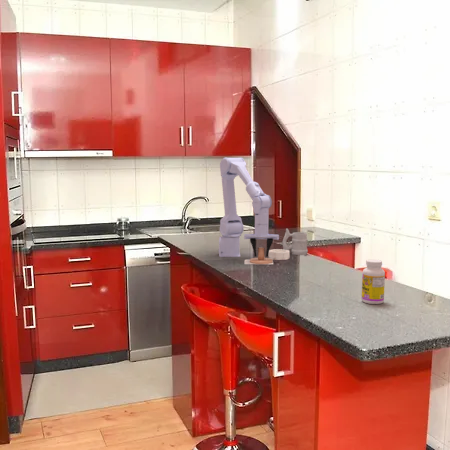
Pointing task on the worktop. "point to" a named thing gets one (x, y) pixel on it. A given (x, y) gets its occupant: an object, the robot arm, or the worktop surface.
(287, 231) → the mug
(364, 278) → the supplement bottle
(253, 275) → the worktop surface
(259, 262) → the lid
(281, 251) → the bowl
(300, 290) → the worktop surface
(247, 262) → the mat
